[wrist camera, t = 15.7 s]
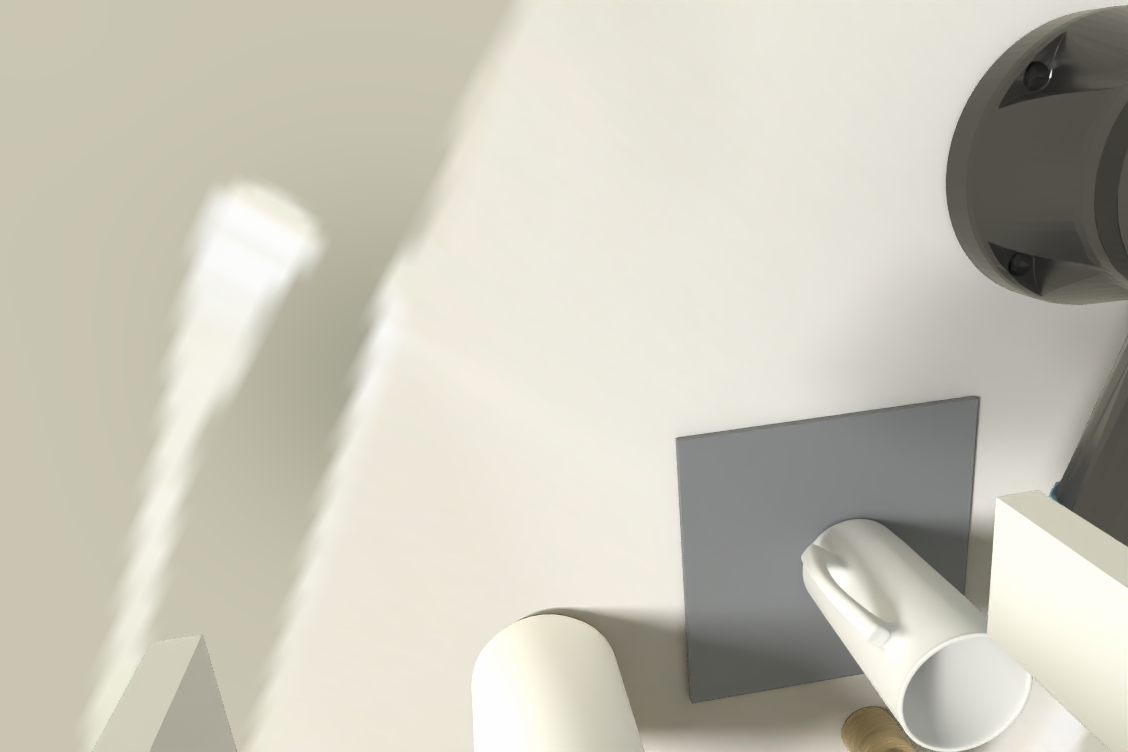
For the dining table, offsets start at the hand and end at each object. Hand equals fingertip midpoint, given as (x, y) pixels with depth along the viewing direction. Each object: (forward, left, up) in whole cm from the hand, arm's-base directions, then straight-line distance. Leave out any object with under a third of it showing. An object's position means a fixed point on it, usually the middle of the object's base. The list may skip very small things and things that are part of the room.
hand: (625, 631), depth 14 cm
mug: (-18, +19, -31) cm, 40 cm away
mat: (-18, +19, -31) cm, 40 cm away
